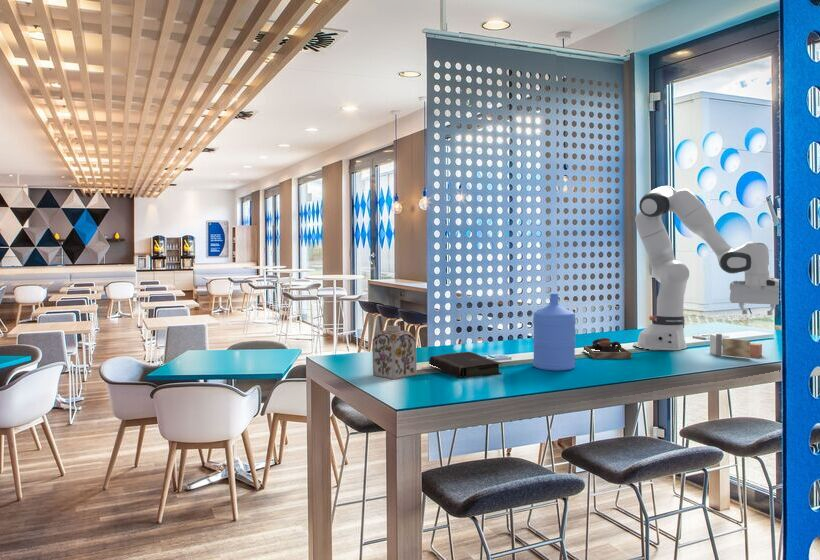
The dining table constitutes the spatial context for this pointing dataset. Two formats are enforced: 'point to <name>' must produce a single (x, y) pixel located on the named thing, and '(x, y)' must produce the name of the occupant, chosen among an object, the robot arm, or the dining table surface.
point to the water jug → (554, 337)
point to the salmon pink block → (755, 350)
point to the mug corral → (609, 354)
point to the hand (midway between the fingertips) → (757, 314)
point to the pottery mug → (605, 345)
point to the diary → (465, 364)
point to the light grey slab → (716, 344)
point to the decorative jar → (394, 354)
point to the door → (736, 347)
